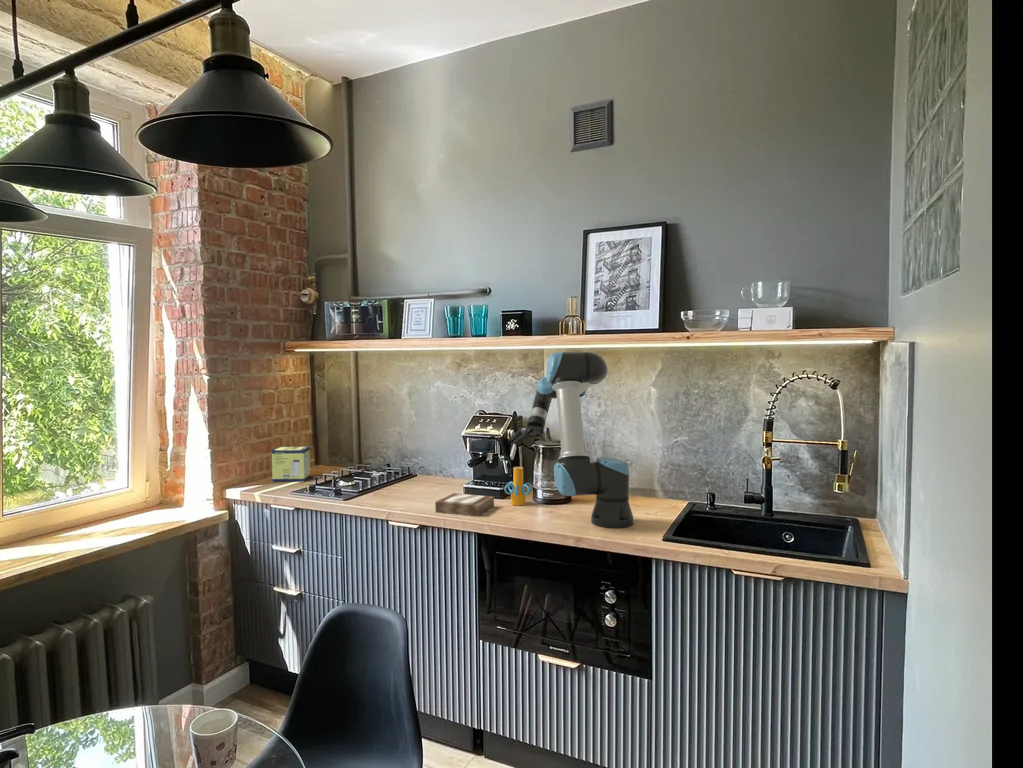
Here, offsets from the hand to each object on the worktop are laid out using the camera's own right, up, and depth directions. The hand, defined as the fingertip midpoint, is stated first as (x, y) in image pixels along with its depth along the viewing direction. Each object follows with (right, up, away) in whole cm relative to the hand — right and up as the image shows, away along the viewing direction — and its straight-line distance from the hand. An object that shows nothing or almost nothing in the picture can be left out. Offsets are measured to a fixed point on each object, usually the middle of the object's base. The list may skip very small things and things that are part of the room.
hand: (526, 459), depth 258 cm
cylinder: (-4, -17, -9) cm, 20 cm away
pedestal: (-25, -18, -17) cm, 35 cm away
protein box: (-114, -15, +39) cm, 121 cm away
